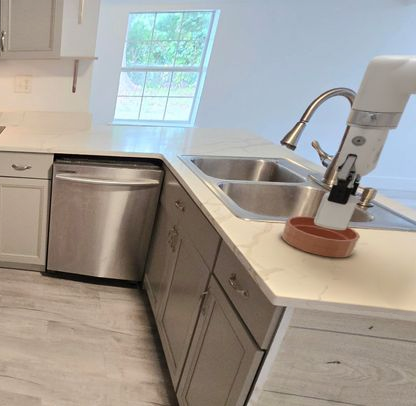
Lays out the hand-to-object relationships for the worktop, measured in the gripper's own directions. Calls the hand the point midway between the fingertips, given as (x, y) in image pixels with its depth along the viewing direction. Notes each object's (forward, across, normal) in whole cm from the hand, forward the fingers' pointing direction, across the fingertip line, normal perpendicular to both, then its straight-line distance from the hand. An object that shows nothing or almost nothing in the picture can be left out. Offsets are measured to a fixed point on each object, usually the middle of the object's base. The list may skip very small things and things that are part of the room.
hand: (340, 199), depth 83 cm
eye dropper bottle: (+7, 0, 0) cm, 7 cm away
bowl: (+17, +11, +3) cm, 20 cm away
